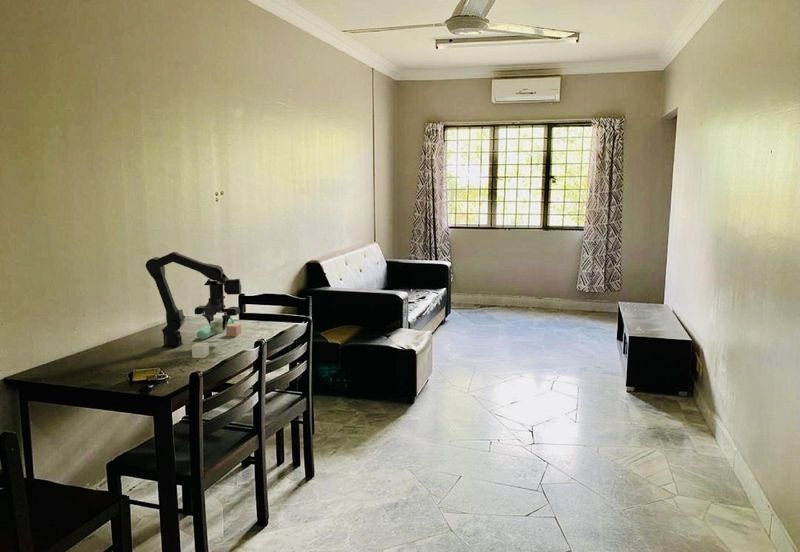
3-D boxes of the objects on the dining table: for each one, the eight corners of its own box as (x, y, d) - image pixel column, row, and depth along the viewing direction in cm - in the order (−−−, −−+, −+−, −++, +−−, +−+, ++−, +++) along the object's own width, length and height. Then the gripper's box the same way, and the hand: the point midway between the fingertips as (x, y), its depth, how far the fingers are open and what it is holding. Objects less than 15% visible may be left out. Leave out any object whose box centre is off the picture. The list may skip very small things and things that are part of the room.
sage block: (210, 333, 258) (209, 322, 257) (215, 330, 263) (215, 319, 262) (221, 333, 257) (220, 322, 256) (226, 330, 262) (225, 319, 261)
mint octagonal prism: (202, 327, 266) (231, 314, 290) (192, 331, 268) (222, 318, 292) (207, 339, 267) (236, 325, 290) (197, 343, 268) (226, 329, 292)
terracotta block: (226, 336, 274) (225, 326, 274) (230, 333, 279) (230, 323, 278) (236, 336, 274) (236, 326, 273) (241, 334, 279) (240, 323, 278)
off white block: (192, 357, 242) (191, 345, 241) (198, 354, 247) (197, 342, 246) (203, 358, 241) (203, 346, 241) (209, 354, 246) (208, 343, 245)
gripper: (187, 297, 250) (189, 333, 253) (229, 299, 248) (230, 335, 251) (199, 292, 261) (201, 327, 264) (240, 294, 259) (241, 328, 261)
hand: (218, 329), depth 260 cm, fingers closed on sage block, 5 cm apart
